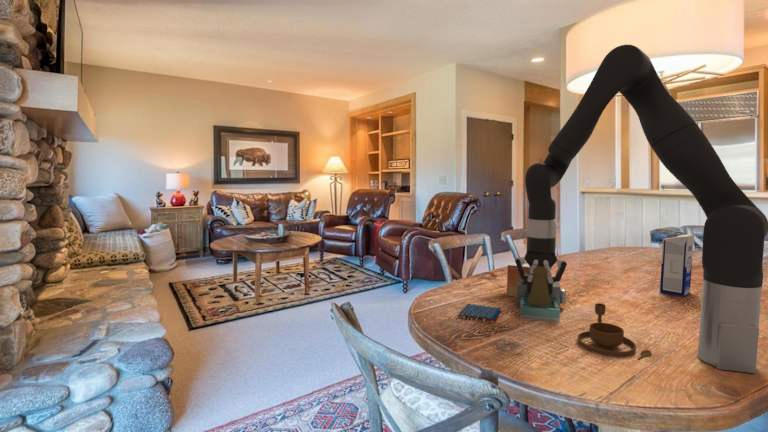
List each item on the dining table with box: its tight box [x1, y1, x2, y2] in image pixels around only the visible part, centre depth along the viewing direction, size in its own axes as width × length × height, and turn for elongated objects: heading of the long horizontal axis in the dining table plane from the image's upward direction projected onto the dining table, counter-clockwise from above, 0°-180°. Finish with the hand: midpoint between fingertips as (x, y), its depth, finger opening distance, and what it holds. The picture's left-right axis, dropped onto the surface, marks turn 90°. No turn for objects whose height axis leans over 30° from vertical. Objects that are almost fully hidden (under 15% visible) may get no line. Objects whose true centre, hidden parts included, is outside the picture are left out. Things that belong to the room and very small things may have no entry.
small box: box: [506, 261, 530, 298], centre depth 131 cm, size 8×6×10 cm
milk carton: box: [659, 232, 695, 297], centre depth 132 cm, size 7×7×20 cm
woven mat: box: [457, 303, 502, 324], centre depth 114 cm, size 10×11×2 cm
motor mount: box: [516, 273, 567, 324], centre depth 116 cm, size 16×14×10 cm
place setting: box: [577, 302, 652, 361], centre depth 95 cm, size 18×20×6 cm
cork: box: [528, 266, 551, 306], centre depth 112 cm, size 6×6×11 cm
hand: (539, 294), depth 113 cm, fingers closed on cork, 4 cm apart
